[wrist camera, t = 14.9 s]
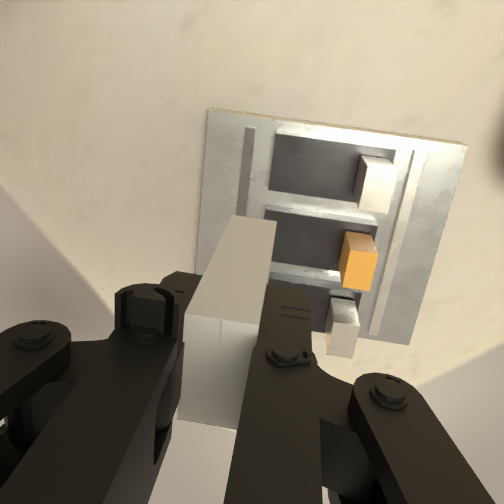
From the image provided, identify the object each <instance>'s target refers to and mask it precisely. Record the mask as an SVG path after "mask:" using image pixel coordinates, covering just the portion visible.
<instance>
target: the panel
mask: <svg viewBox="0 0 504 504" xmlns="http://www.w3.org/2000/svg"><path fill="white" fill-rule="evenodd" d="M467 149H468V146H467V145H465V144H463V143H461V142H457V141H450V140H443V139H435V138H428V137H421V136H413V135H406V134H399V133H391V132H384V131H376V130H369V129H362V128H354V127H347V126H340V125H332V124H325V123H318V122H310V121H303V120H295V119H288V118H281V117H273V116H266V115H259V114H251V113H244V112H237V111H229V110H222V109H214V108H212V109H210V110H208V119H207V131H206V144H205V157H204V169H203V182H202V195H201V207H200V220H199V233H198V245H197V258H196V271H195V274H197V275H203V274H204V272H205V270H206V268H207V266H208V264H209V262H210V260H211V258H212V256H213V254H214V252H215V249H216V247H217V245H218V243H219V241H220V239H221V237H222V235H223V233H224V231H225V229H226V227H227V225H228V222H229V220H230V218H231V216H232V215H238V216H244V217H251V218H258V219H265V220H271V221H277V225H276V232H275V238H274V245H273V252H272V258H271V265H270V272H269V279H268V284H271V285H277V286H284V287H290V288H297V289H303V291H304V292H305V293H306V294H307V296H308V297H309V298H310V301H311V331H315V332H322V333H325V339H326V352H327V355H332V356H339V357H345V358H351V359H352V357H353V353H354V349H355V345H356V341H357V337H359V338H366V339H372V340H378V341H385V342H391V343H397V344H403V345H409V343H410V339H411V336H412V333H413V329H414V326H415V323H416V319H417V316H418V313H419V309H420V306H421V303H422V299H423V296H424V293H425V289H426V286H427V283H428V279H429V276H430V273H431V269H432V266H433V263H434V259H435V256H436V253H437V249H438V246H439V243H440V239H441V236H442V233H443V229H444V226H445V222H446V219H447V216H448V212H449V209H450V206H451V202H452V199H453V196H454V192H455V189H456V186H457V182H458V179H459V176H460V172H461V169H462V166H463V162H464V159H465V156H466V152H467ZM346 231H349V232H356V233H363V234H369V235H371V236H372V238H373V241H374V244H375V246H376V249H377V251H378V258H377V263H376V267H375V271H374V275H373V279H372V283H371V287H370V291H364V290H358V289H351V288H345V287H342V283H341V277H340V271H339V261H340V256H341V251H342V246H343V242H344V237H345V232H346Z"/></svg>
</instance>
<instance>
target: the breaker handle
mask: <svg viewBox="0 0 504 504" xmlns="http://www.w3.org/2000/svg"><path fill="white" fill-rule="evenodd" d="M377 258H378V251H377V249H376V246H375V244H374V241H373V238H372V236H371V235H369V234H363V233H356V232H349V231H346V232H345V237H344V242H343V246H342V251H341V256H340V261H339V271H340V277H341V283H342V287H345V288H351V289H358V290H364V291H370V287H371V283H372V279H373V275H374V271H375V267H376V263H377Z"/></svg>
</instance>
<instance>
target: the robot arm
mask: <svg viewBox="0 0 504 504" xmlns="http://www.w3.org/2000/svg"><path fill="white" fill-rule="evenodd" d="M276 225H277V221H271V220H265V219H258V218H251V217H244V216H238V215H232V216H231V218H230V220H229V222H228V225H227V227H226V229H225V231H224V233H223V235H222V237H221V239H220V241H219V243H218V245H217V247H216V249H215V252H214V254H213V256H212V258H211V260H210V262H209V264H208V266H207V268H206V270H205V272H204V274H203V275H197V274H191V273H185V272H178V271H176V272H174V273H172V274H170V275H168V276H166V277H164V278H163V280H162V281H161V283H160V284H148V283H143V284H134V285H130V286H127V287H124V288H122V289H120V290H119V291H118V292H116V293H115V329H114V331H113V332H112V333H111V335H110V336H109V338H108V339H105V340H97V341H78V342H71V333H70V331H69V329H68V328H67V327H66V326H64V325H62V324H60V323H58V322H52V321H47V320H46V321H45V320H41V321H39V320H36V321H30V322H26V323H21V324H18V325H16V326H13V327H11V328H9V329H7V330H5V331H3V332H2V333H0V421H1V420H2V419H3V418H4V421H5V424H3V425H2V426H1V427H0V504H148V501H149V499H150V496H151V493H152V490H153V487H154V484H155V482H156V479H157V476H158V473H159V470H160V467H161V464H162V462H163V459H164V456H165V453H166V451H167V447H168V445H169V442H170V439H171V433H172V419H173V416H174V413H175V411H176V408H177V405H178V413H177V414H178V415H177V419H178V420H184V421H190V422H196V423H202V424H207V425H213V426H219V427H225V428H230V429H236V430H237V434H236V439H235V445H234V450H233V455H232V461H231V466H230V471H229V477H228V482H227V488H226V493H225V498H224V503H223V504H323V503H322V486H324V487H326V488H328V498H329V501H330V504H495V502H494V501H493V499H492V498H491V496H490V495H489V493H488V492H487V491H486V489H485V488H484V486H483V485H482V483H481V482H480V480H479V479H478V477H477V476H476V474H475V473H474V471H473V470H472V468H471V467H470V465H469V464H468V463H467V461H466V460H465V458H464V457H463V455H462V454H461V452H460V451H459V449H458V448H457V446H456V445H455V443H454V442H453V441H452V439H451V438H450V436H449V435H448V433H447V432H446V430H445V429H444V427H443V426H442V424H441V423H440V421H439V420H438V419H437V417H436V416H435V414H434V413H433V411H432V410H431V408H430V407H429V405H428V404H427V402H426V401H425V399H424V398H423V396H422V395H421V394H420V393H419V392H418V391H417V390H416V389H415V388H414V387H413V386H412V385H410V384H409V383H407V382H405V381H404V380H402V379H400V378H397V377H394V376H392V375H389V374H382V373H368V374H363V375H362V376H360V377H358V378H357V379H356V381H355V383H354V385H352V384H350V383H347V382H344V381H342V380H339V379H337V378H335V377H333V376H331V375H329V374H328V373H326V372H325V371H323V370H322V369H321V368H320V367H319V366H318V365H317V360H316V357H315V354H314V353H313V352H312V339H311V301H310V298H309V297H308V296H307V294H306V293H305V292H304V291H303V289H297V288H290V287H284V286H277V285H271V284H268V279H269V272H270V265H271V258H272V252H273V245H274V238H275V232H276Z"/></svg>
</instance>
